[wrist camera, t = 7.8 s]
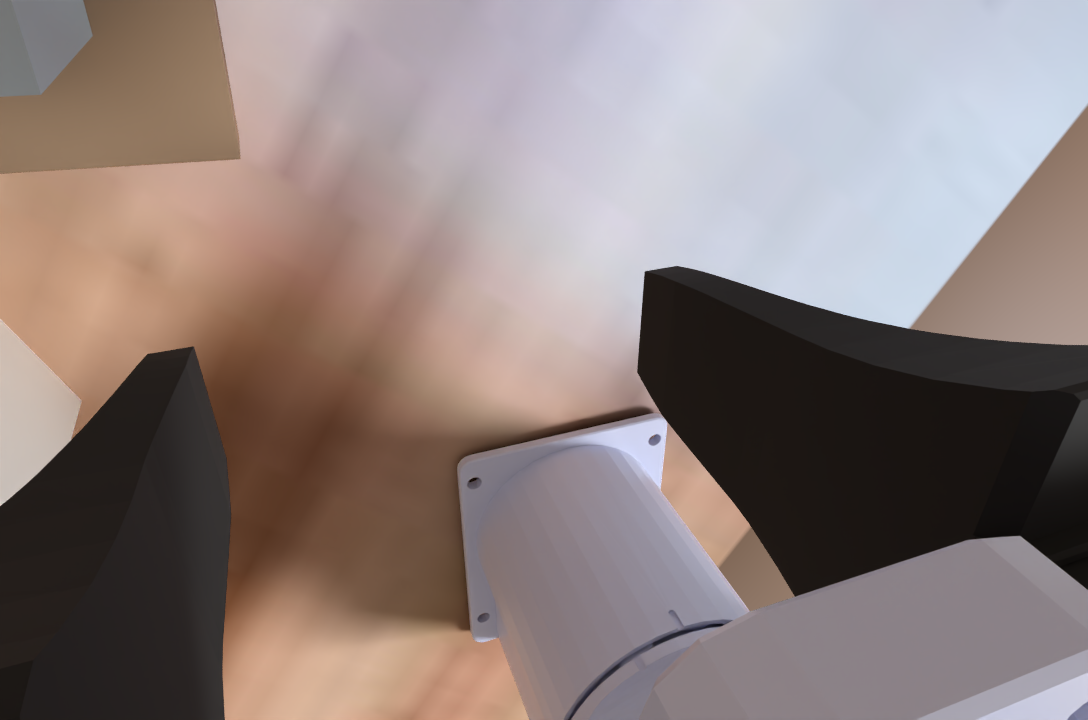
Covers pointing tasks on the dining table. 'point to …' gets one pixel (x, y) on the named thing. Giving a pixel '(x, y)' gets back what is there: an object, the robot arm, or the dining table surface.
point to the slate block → (38, 42)
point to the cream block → (30, 413)
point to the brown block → (129, 94)
